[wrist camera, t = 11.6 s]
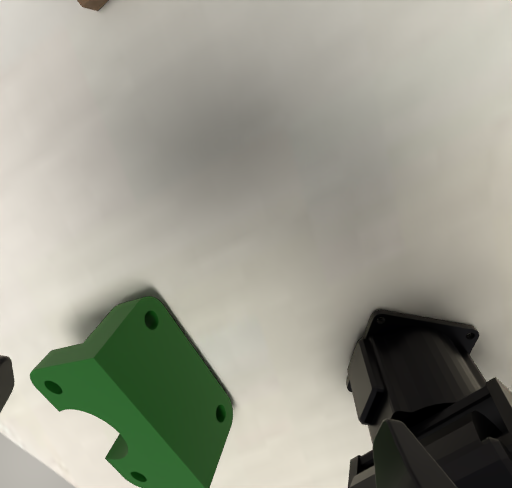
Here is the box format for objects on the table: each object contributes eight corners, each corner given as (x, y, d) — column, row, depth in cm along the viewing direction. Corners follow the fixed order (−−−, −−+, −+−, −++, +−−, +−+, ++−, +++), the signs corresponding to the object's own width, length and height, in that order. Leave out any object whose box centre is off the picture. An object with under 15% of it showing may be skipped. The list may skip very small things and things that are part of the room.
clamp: (128, 295, 29) (10, 341, 21) (190, 278, 27) (81, 323, 18) (178, 444, 30) (79, 546, 21) (243, 442, 27) (159, 557, 19)
